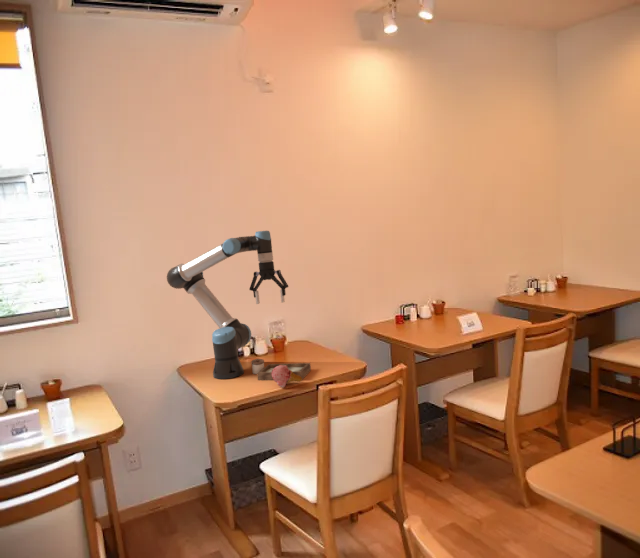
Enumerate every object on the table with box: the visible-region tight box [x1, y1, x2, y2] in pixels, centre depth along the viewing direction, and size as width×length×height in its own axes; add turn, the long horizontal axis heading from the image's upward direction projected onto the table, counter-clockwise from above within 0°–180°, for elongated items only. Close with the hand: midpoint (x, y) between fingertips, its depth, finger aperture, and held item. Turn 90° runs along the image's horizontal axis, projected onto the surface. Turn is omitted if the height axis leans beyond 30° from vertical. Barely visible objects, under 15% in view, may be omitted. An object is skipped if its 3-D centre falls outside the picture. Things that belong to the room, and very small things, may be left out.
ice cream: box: [271, 365, 303, 388], centre depth 259 cm, size 11×10×15 cm
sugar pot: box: [250, 358, 265, 375], centre depth 282 cm, size 6×6×8 cm
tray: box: [256, 362, 312, 381], centre depth 275 cm, size 22×16×4 cm
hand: (270, 303), depth 285 cm, fingers open, 13 cm apart
